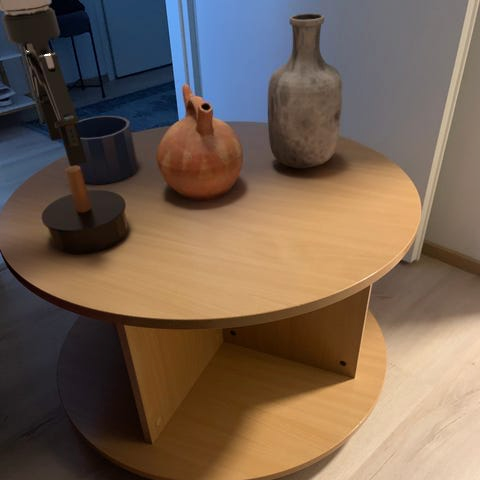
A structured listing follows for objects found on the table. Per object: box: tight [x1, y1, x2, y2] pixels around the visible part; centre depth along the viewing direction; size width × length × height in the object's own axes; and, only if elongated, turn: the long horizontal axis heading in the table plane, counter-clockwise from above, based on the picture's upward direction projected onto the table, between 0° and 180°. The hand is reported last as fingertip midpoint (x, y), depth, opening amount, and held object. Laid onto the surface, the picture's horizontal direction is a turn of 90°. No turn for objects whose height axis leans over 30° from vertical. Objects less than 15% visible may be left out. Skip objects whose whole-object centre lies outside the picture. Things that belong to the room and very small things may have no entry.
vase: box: [267, 12, 343, 169], centre depth 109 cm, size 16×16×30 cm
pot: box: [75, 115, 139, 185], centre depth 118 cm, size 14×14×10 cm
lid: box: [41, 165, 127, 233], centre depth 93 cm, size 16×16×9 cm
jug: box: [156, 83, 244, 201], centre depth 105 cm, size 18×18×20 cm
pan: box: [47, 210, 129, 255], centre depth 97 cm, size 14×14×5 cm
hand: (68, 150), depth 88 cm, fingers open, 13 cm apart
